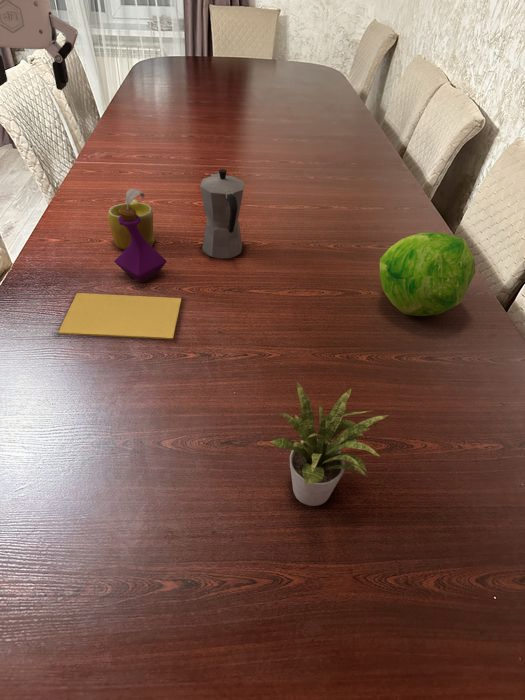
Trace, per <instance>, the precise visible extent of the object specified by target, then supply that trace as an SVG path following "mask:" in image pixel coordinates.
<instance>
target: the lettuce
mask: <svg viewBox="0 0 525 700" xmlns="http://www.w3.org/2000/svg"><path fill="white" fill-rule="evenodd" d="M475 264H476V263H475V256H474V255H473V254H472V251H471V250H470V247H469V245H468V243H467V241H466V239H465V238H462V237H459V236H456V235H452V234H449V233H445V232H419V233H415V234H412V235H409V236H407V237H404V238H401V239H400V240H398V241H397V242H396V243H394V244H393V245H391V246H390V247H389V248H388V249H387V250H386V251H385V253H384V254H383V255H382V256H381V257H380V258H379V279H380V284H381V287H382V290H383V291H382V292H383V293H384V294H385V296H386V297H387V299H388V300H389V302H390V303H391V305H392V306H394V307H395V308H396V309H397V310H398V311H399V312H400V313H401V314H402V315H405V316H415V317H426V316H436V315H441V314H442V313H445V312H447V311H448V310H450V309H452V308H454V307H457V306H458V305H460V304H461V302H462V301H463V299H464V297H465V295H466V293H467V291H468V288H469V287H470V285H471V283H472V280H473V278H474V276H475V274H476V265H475Z"/></svg>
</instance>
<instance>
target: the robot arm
mask: <svg viewBox="0 0 525 700" xmlns="http://www.w3.org/2000/svg"><path fill="white" fill-rule="evenodd" d="M57 31H58V32H60V33H62V34H63V35H64V36H65V40H64V43H63V45H60V43H59V42H58V41H57V39H58V35H57ZM78 35H79V31H78V29H77V28H75V27H74V26H72V25H71V24H69V23H67V22H65V21H63V20H62V19H61V18H59V17H57V16H55V15H54V14H53V9H52V6H51V1H50V0H0V48H10V49H22V50H23V49H25V50H45V51H46V53H48V54H49V55H50V56H51V58H52V59H53V62H52V64H51V65H52V71H53V76H54V77H53V78H54V81H55V87H56V89H57V90H58V91H62V90H64V89H65V88H66V86H67V84H68V83H69V74H68V69H67V62H66V59H67V58H68V56H69V55H70V54H71V53H72V51H73V50H74V48H75V44H76V41H77V39H78ZM7 82H8V75H7V71H6V67H5V63H4V60H3V56H2V55H1V54H0V87H1V86H3V85H4V84H5V83H7Z"/></svg>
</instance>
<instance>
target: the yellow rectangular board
mask: <svg viewBox="0 0 525 700" xmlns="http://www.w3.org/2000/svg"><path fill="white" fill-rule="evenodd" d="M181 304H182V297H166V296H145V295H127V294H108V293H107V294H106V293H85V292H77V293H75V296H74V298H73V301H72V302H71V305H70V307H69V309H68V310H67V312H66V315H65V317H64V319H63V322H62V323H61V325H60V328H59V329H58V333H57V334H58V335H67V336H68V335H71V336H90V337H111V338H113V337H115V338H135V339H155V340H174V337H175V333H176V327H177V323H178V318H179V312H180V308H181Z"/></svg>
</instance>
